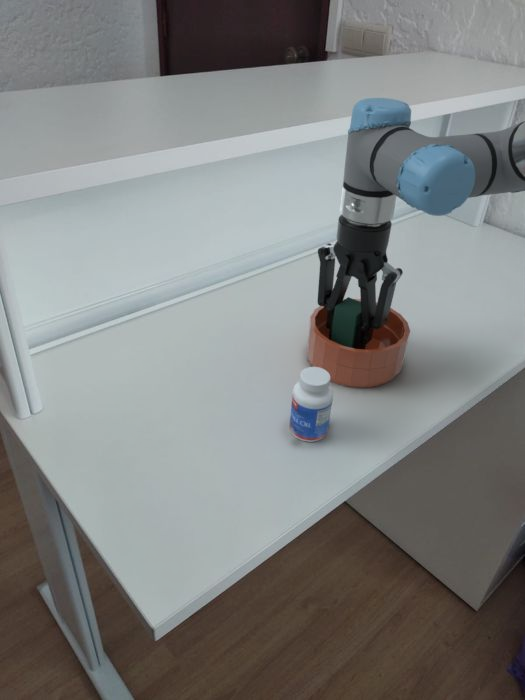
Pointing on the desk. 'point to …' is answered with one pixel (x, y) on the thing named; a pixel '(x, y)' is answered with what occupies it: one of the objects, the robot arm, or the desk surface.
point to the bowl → (359, 352)
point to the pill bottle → (311, 405)
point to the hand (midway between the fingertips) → (345, 351)
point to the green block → (346, 322)
